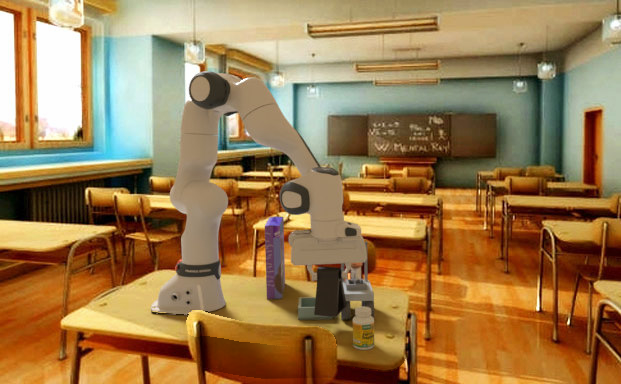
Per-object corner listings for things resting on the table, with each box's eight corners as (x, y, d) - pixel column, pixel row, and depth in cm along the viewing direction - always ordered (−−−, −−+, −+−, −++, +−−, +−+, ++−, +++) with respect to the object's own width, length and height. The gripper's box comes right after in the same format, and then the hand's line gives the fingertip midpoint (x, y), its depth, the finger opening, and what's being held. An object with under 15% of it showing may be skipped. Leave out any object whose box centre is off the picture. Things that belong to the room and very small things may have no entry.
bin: (298, 319, 153) (298, 307, 153) (299, 308, 163) (299, 297, 163) (332, 319, 153) (331, 307, 153) (331, 308, 163) (330, 296, 163)
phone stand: (335, 317, 140) (333, 273, 138) (314, 315, 143) (312, 271, 141) (346, 305, 148) (345, 263, 147) (326, 303, 151) (324, 262, 149)
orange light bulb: (349, 289, 155) (349, 261, 154) (349, 285, 159) (348, 258, 158) (363, 288, 155) (362, 261, 154) (361, 285, 159) (361, 258, 158)
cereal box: (281, 299, 172) (279, 225, 170) (266, 299, 173) (264, 225, 170) (285, 283, 190) (283, 216, 187) (271, 283, 190) (269, 216, 187)
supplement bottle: (364, 340, 138) (364, 303, 137) (378, 346, 134) (378, 309, 132) (348, 345, 135) (348, 308, 134) (362, 352, 131) (362, 314, 129)
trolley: (342, 322, 151) (341, 252, 148) (339, 306, 165) (338, 241, 162) (374, 322, 151) (373, 251, 148) (369, 305, 165) (368, 241, 162)
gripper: (287, 233, 139) (290, 284, 141) (366, 229, 139) (368, 281, 141) (288, 228, 145) (291, 277, 147) (364, 224, 145) (365, 274, 147)
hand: (329, 279), depth 144 cm, fingers closed on phone stand, 7 cm apart
